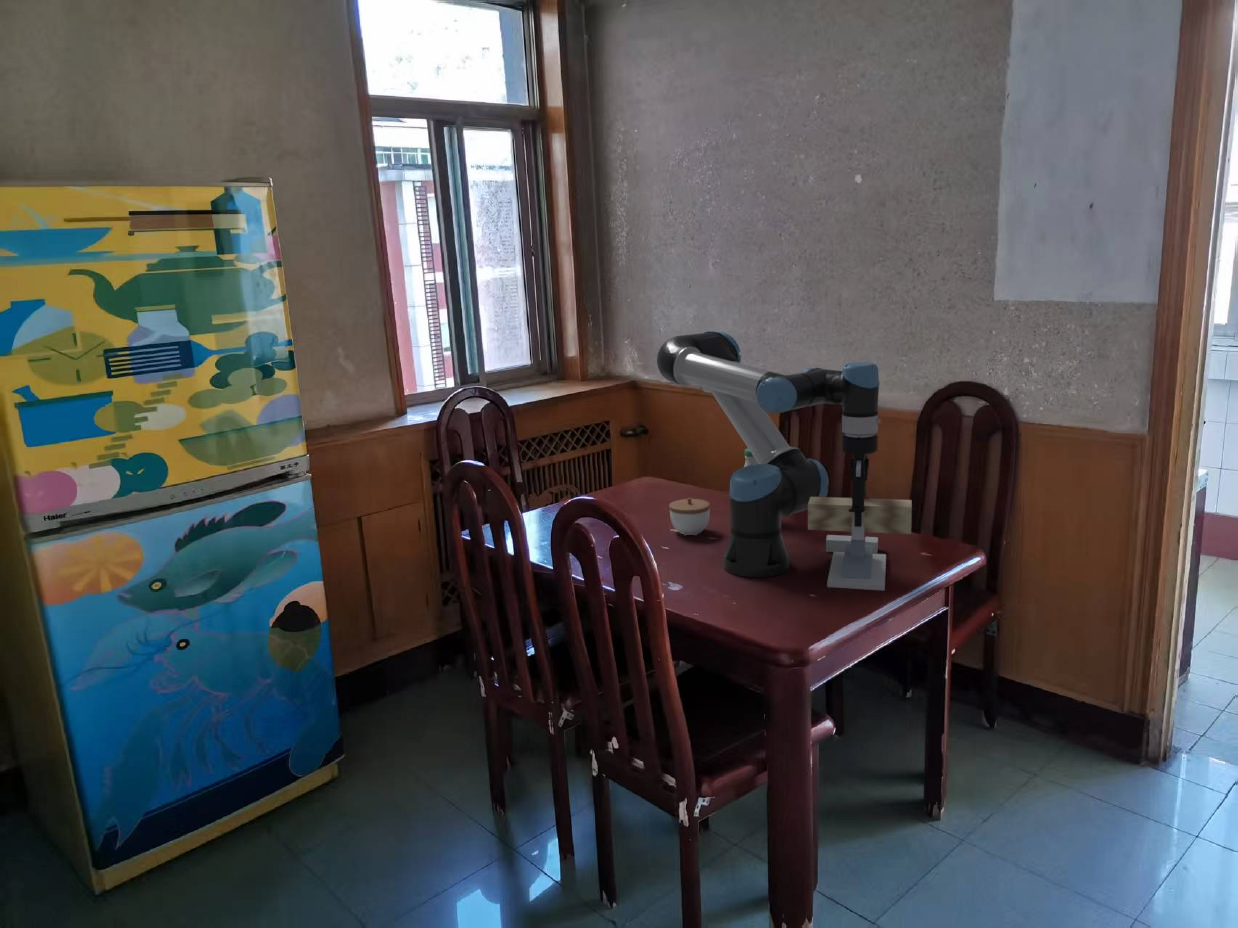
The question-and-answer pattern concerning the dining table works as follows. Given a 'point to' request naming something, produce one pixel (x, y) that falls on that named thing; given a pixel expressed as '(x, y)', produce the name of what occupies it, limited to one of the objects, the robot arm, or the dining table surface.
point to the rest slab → (839, 543)
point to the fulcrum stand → (857, 568)
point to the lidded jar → (689, 515)
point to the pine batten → (877, 515)
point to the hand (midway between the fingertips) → (858, 534)
